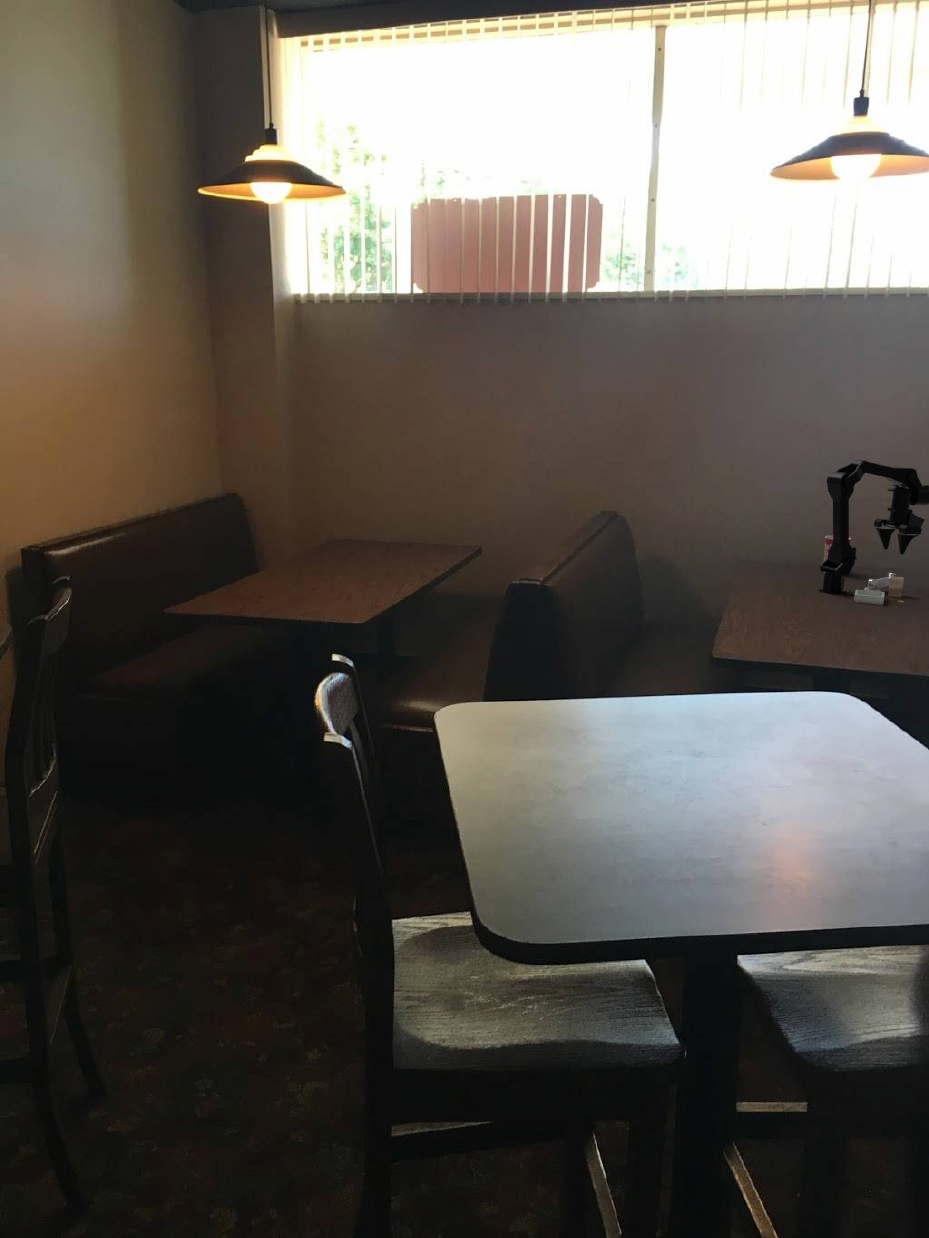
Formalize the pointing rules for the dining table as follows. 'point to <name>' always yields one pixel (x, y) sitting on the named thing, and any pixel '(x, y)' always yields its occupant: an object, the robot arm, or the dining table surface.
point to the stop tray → (869, 597)
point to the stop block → (896, 586)
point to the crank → (880, 582)
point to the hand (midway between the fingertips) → (893, 551)
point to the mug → (827, 546)
